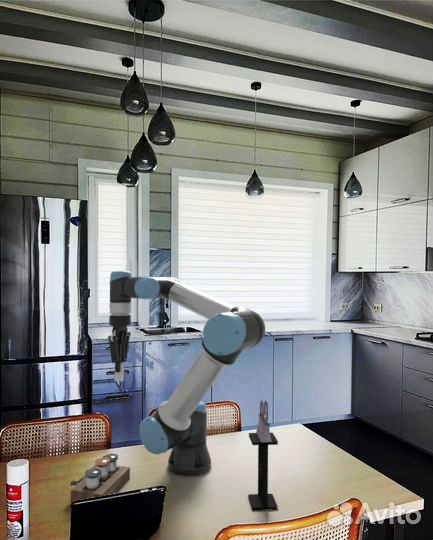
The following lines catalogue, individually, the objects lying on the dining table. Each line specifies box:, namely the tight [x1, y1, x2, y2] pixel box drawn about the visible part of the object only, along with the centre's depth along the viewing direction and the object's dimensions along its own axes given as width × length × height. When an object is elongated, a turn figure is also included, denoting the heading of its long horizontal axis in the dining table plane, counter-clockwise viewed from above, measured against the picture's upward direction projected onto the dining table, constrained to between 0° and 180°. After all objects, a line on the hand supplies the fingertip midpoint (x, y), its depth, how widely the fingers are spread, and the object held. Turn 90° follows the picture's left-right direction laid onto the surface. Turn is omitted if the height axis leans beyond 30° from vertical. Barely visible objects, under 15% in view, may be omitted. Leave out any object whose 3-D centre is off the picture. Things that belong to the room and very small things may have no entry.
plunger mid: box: [94, 457, 110, 482], centre depth 127 cm, size 4×4×8 cm
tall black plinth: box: [247, 400, 279, 512], centre depth 121 cm, size 10×8×30 cm
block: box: [70, 465, 131, 504], centre depth 127 cm, size 10×18×4 cm, turn 166°
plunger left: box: [84, 467, 101, 491], centre depth 122 cm, size 4×4×8 cm
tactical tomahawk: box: [70, 455, 105, 486], centre depth 140 cm, size 21×7×1 cm, turn 166°
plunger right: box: [103, 453, 119, 474], centre depth 132 cm, size 4×4×8 cm
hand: (119, 380), depth 146 cm, fingers closed
